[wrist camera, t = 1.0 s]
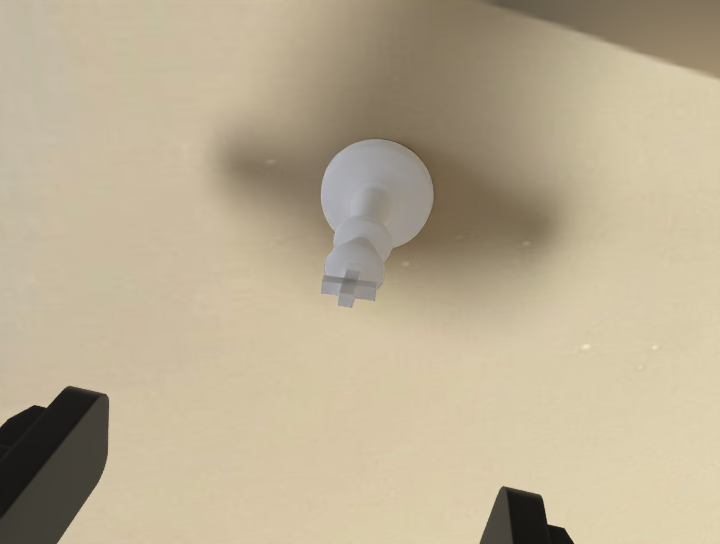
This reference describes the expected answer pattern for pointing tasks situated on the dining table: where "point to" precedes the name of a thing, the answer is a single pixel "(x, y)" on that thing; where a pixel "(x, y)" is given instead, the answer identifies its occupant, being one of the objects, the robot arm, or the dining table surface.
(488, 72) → the dining table surface
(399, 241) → the chess piece
